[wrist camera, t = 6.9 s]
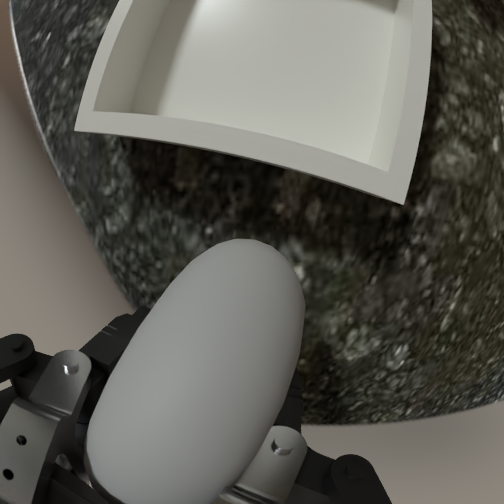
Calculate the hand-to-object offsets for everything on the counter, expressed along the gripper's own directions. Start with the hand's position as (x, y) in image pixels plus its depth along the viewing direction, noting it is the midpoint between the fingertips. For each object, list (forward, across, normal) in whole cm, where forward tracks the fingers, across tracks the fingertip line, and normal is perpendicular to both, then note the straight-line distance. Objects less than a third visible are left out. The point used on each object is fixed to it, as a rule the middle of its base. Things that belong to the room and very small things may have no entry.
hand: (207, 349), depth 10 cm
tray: (+9, +2, -16) cm, 19 cm away
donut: (+3, 0, 0) cm, 3 cm away
